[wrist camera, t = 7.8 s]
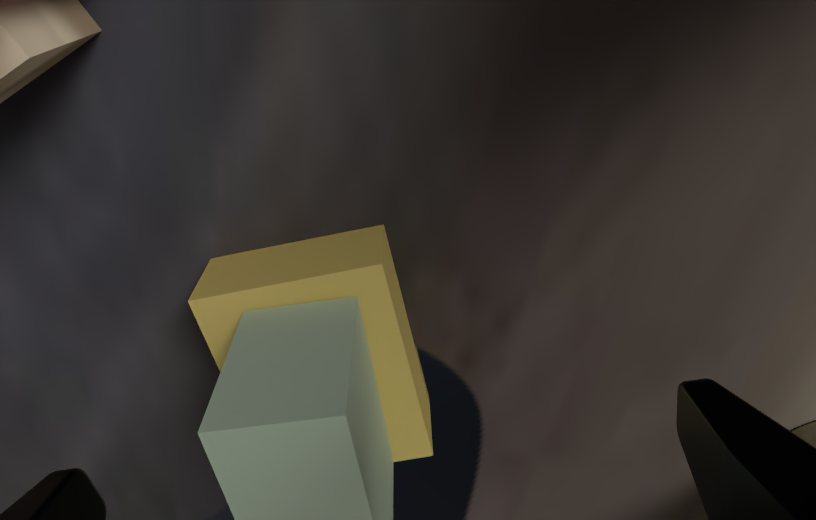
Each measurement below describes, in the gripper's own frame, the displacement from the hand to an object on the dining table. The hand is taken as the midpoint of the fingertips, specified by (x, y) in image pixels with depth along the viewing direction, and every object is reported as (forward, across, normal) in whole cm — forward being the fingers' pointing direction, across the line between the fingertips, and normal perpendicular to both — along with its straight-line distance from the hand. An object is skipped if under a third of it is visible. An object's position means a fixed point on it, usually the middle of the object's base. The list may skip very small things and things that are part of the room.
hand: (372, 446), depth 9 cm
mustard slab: (+12, +4, +6) cm, 14 cm away
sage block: (+9, +4, +6) cm, 11 cm away
